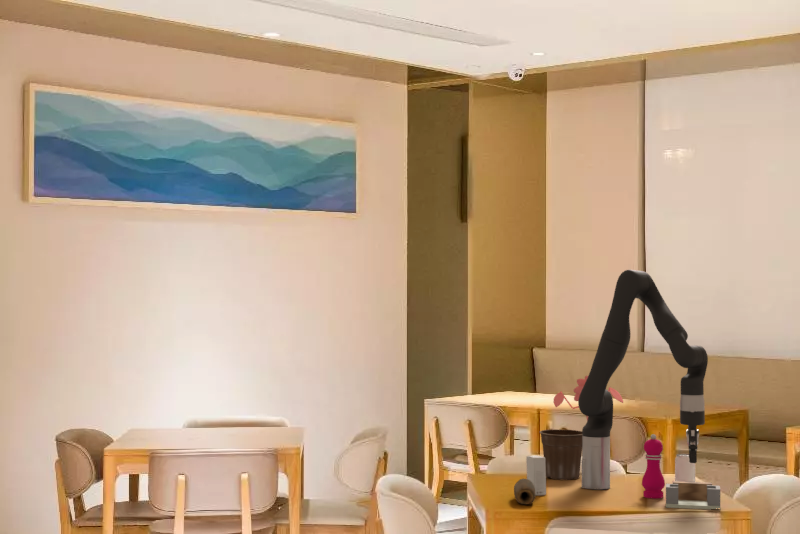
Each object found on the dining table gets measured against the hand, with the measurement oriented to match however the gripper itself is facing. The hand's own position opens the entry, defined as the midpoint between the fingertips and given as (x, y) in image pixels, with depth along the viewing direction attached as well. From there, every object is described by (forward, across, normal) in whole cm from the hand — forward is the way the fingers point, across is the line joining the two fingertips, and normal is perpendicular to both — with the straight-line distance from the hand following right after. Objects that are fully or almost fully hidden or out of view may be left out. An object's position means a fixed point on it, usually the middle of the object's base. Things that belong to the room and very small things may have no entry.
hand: (692, 461), depth 368 cm
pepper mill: (+13, -5, -12) cm, 18 cm away
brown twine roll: (+12, +15, -51) cm, 55 cm away
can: (+13, -19, -2) cm, 23 cm away
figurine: (+12, -61, -36) cm, 72 cm away
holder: (+13, +9, 0) cm, 15 cm away
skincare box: (+12, -1, -49) cm, 51 cm away
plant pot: (+12, -39, -44) cm, 60 cm away
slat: (+13, 0, 0) cm, 13 cm away
